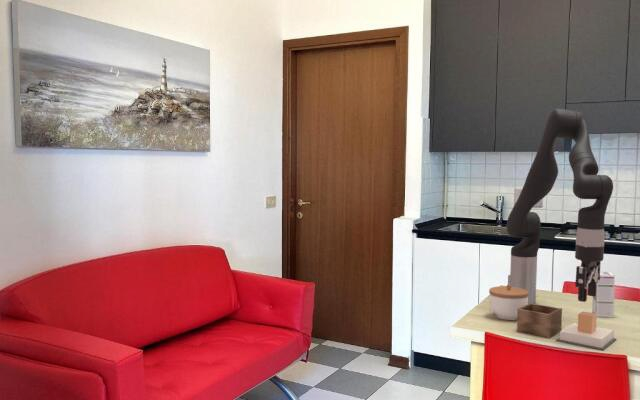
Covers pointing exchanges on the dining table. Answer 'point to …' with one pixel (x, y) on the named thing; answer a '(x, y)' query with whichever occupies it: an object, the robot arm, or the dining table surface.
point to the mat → (588, 345)
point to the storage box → (539, 320)
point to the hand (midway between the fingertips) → (587, 298)
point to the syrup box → (604, 296)
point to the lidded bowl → (507, 301)
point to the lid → (587, 331)
